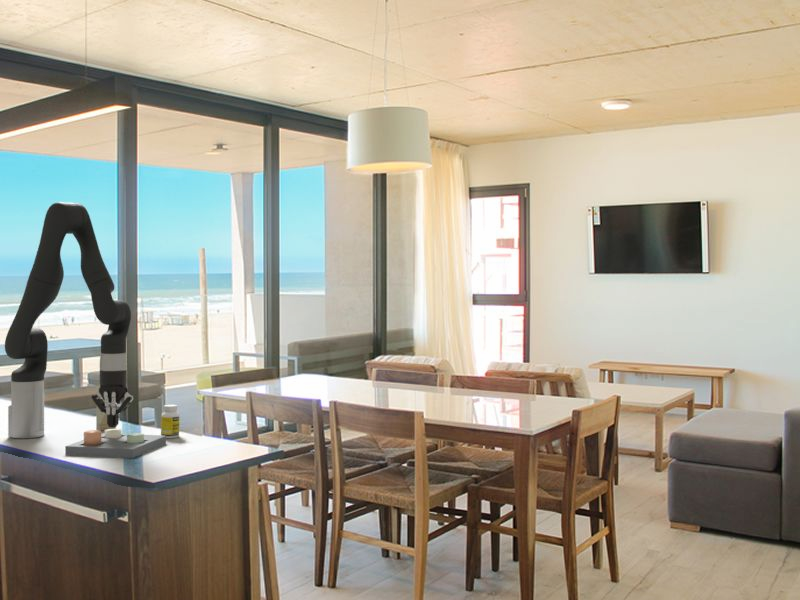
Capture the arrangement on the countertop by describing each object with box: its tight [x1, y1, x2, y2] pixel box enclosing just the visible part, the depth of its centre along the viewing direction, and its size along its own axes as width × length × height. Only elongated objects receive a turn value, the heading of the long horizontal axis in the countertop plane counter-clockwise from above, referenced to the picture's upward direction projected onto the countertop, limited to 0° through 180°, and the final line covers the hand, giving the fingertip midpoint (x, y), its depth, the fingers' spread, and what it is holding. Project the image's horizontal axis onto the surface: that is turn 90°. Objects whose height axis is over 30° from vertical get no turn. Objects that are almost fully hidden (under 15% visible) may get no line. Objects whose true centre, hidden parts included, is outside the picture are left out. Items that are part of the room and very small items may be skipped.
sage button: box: [127, 432, 145, 444], centre depth 229 cm, size 5×5×4 cm
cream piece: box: [104, 428, 122, 439], centre depth 236 cm, size 5×5×4 cm
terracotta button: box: [83, 429, 102, 446], centre depth 226 cm, size 5×5×4 cm
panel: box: [64, 432, 167, 459], centre depth 230 cm, size 20×20×2 cm
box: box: [95, 398, 117, 431], centre depth 261 cm, size 5×4×11 cm
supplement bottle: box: [160, 404, 180, 439], centre depth 249 cm, size 5×5×10 cm
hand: (112, 427), depth 237 cm, fingers closed
